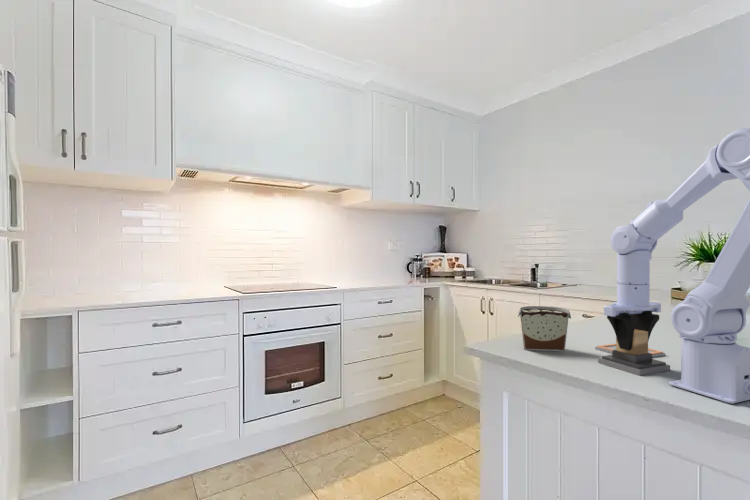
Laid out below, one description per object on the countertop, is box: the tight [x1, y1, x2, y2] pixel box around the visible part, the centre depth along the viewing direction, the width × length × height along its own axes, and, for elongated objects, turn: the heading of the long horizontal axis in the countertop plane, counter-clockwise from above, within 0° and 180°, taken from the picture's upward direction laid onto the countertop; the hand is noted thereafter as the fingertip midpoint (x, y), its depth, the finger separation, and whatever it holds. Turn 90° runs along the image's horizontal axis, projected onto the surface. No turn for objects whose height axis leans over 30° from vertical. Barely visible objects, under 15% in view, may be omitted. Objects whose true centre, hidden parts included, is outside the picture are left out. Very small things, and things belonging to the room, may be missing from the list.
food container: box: [517, 305, 572, 352], centre depth 96 cm, size 12×6×10 cm, turn 82°
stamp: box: [611, 329, 653, 364], centre depth 81 cm, size 5×5×6 cm
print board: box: [594, 343, 666, 358], centre depth 91 cm, size 10×10×1 cm
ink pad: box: [597, 354, 671, 376], centre depth 80 cm, size 9×9×2 cm
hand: (632, 348), depth 80 cm, fingers closed on stamp, 4 cm apart
